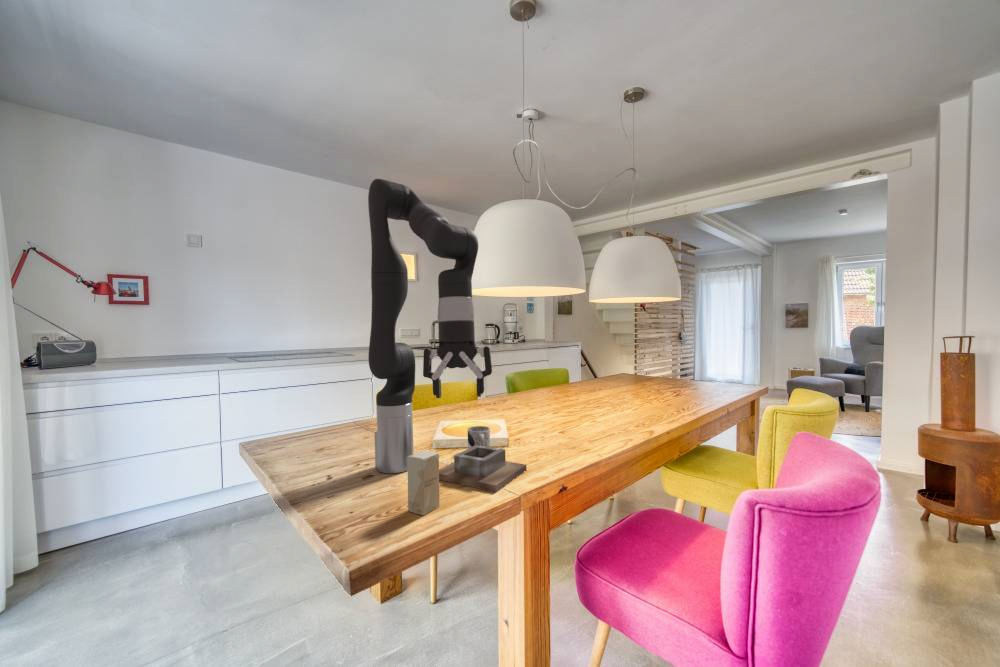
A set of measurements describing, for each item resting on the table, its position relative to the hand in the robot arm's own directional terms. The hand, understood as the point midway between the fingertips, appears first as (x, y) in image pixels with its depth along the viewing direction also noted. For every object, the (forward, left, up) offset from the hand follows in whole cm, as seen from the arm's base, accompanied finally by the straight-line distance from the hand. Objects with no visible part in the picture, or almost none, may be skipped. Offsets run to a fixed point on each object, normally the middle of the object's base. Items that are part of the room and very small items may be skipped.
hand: (458, 397), depth 82 cm
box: (-5, -6, -22) cm, 24 cm away
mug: (-15, +30, -22) cm, 40 cm away
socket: (-5, +15, -22) cm, 27 cm away
